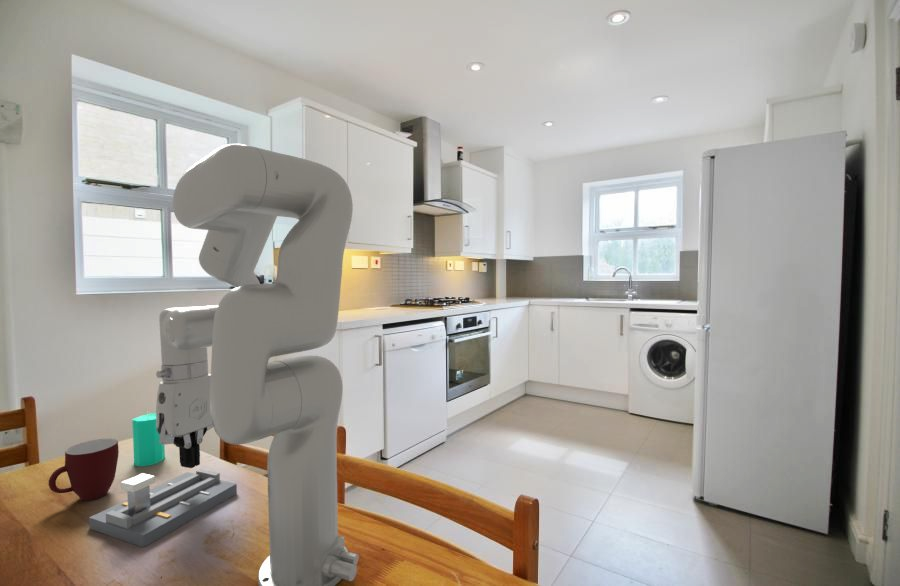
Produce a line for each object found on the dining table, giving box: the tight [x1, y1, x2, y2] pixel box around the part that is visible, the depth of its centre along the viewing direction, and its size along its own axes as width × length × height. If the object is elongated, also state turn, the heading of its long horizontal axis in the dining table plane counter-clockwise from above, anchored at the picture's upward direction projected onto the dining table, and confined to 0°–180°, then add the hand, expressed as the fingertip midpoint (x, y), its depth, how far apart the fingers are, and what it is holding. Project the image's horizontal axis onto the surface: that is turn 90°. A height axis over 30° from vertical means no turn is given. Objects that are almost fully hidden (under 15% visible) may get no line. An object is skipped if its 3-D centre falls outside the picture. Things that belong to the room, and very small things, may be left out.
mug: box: [48, 438, 120, 502], centre depth 84 cm, size 10×8×10 cm
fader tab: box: [120, 472, 156, 516], centre depth 75 cm, size 3×4×6 cm
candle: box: [131, 410, 166, 467], centre depth 101 cm, size 6×6×12 cm
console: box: [88, 468, 238, 548], centre depth 80 cm, size 14×18×4 cm
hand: (190, 465), depth 83 cm, fingers closed
